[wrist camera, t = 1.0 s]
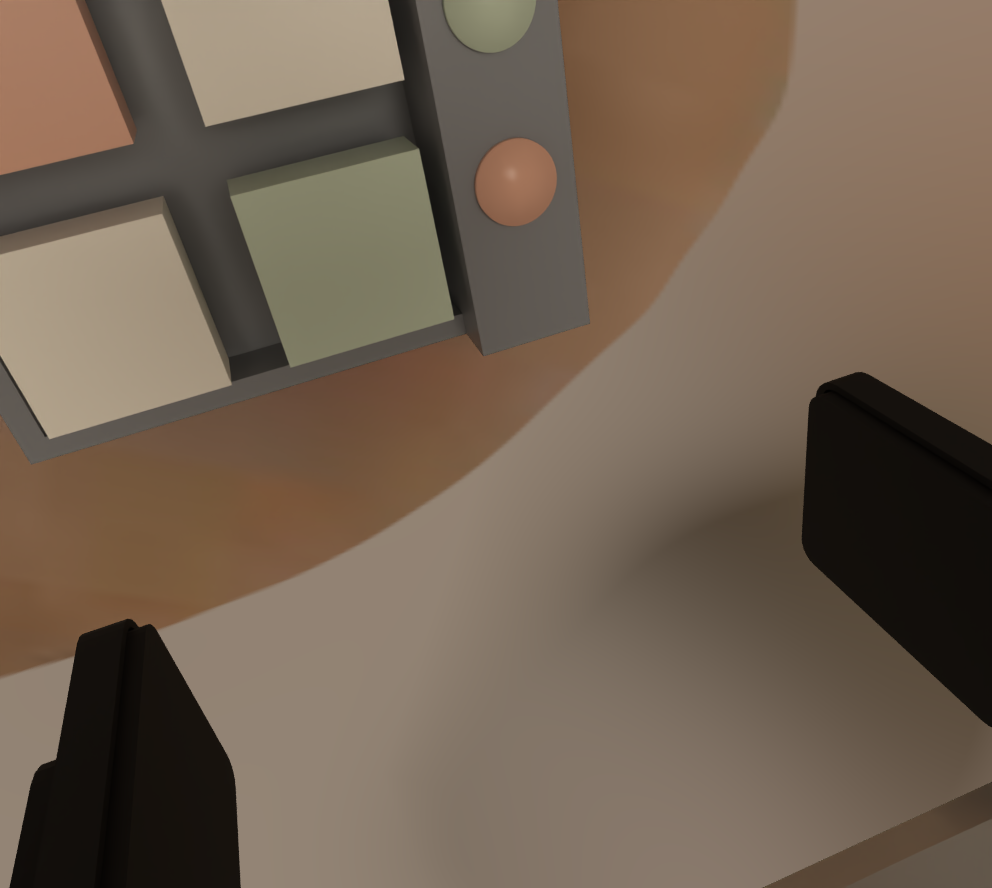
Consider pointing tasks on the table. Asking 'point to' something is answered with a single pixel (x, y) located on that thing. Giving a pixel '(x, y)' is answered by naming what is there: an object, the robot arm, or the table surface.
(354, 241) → the key sage
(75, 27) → the key terracotta
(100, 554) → the table surface
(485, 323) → the keypad
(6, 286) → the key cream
